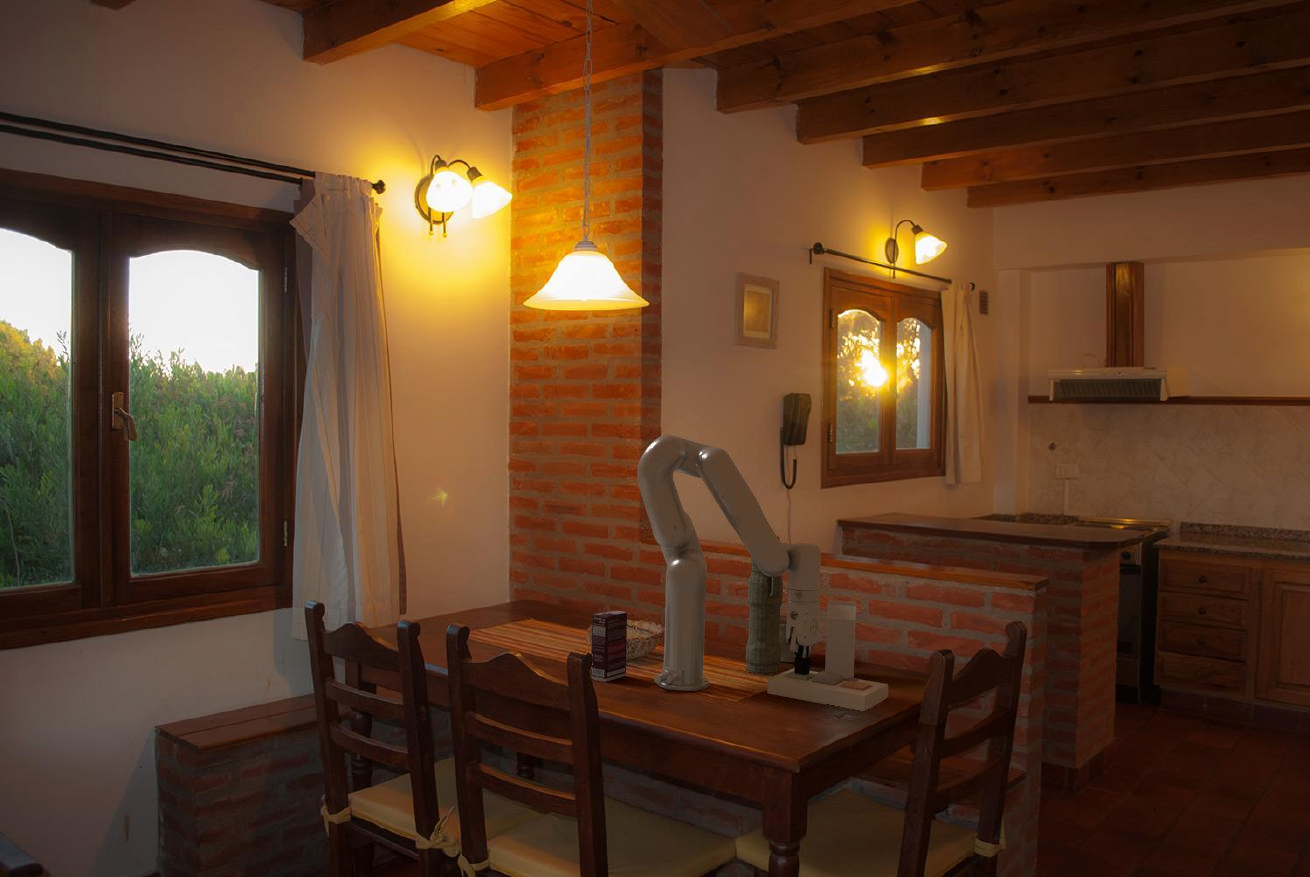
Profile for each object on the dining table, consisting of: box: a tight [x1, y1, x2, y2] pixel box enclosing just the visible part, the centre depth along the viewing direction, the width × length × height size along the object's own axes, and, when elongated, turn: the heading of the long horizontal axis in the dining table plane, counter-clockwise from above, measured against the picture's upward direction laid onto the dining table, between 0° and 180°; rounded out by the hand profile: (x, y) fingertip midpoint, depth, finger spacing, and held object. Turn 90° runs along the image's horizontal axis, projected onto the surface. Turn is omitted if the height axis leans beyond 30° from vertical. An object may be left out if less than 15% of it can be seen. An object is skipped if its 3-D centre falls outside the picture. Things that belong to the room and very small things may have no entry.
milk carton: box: [824, 599, 857, 678], centre depth 256 cm, size 7×7×19 cm
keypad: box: [766, 668, 889, 712], centre depth 234 cm, size 14×24×4 cm, turn 56°
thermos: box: [745, 535, 784, 676], centre depth 258 cm, size 9×12×35 cm
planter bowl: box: [779, 614, 816, 663], centre depth 273 cm, size 16×16×11 cm
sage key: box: [786, 671, 815, 681], centre depth 238 cm, size 5×5×2 cm
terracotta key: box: [841, 681, 871, 691], centre depth 230 cm, size 5×5×2 cm
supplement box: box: [590, 610, 628, 683], centre depth 245 cm, size 9×5×16 cm, turn 145°
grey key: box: [813, 670, 842, 686], centre depth 234 cm, size 5×5×2 cm
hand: (801, 673), depth 238 cm, fingers closed
